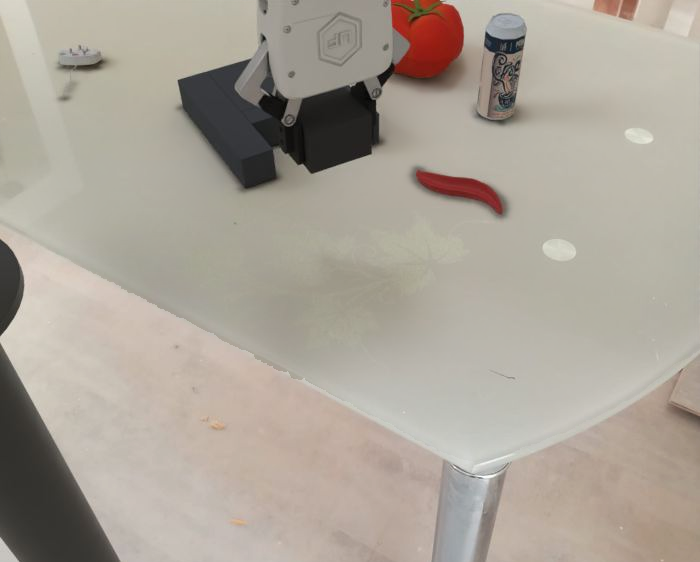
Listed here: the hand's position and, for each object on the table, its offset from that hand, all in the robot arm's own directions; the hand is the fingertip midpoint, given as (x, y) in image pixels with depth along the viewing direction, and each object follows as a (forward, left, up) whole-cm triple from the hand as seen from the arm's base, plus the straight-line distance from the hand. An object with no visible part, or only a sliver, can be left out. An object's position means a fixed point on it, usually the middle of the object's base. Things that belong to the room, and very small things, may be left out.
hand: (328, 143), depth 68 cm
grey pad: (+7, +27, -15) cm, 32 cm away
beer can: (+32, +15, -16) cm, 38 cm away
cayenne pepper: (+19, +4, -16) cm, 25 cm away
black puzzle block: (0, +1, -1) cm, 1 cm away
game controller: (-12, +53, -16) cm, 57 cm away
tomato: (+30, +30, -16) cm, 45 cm away
